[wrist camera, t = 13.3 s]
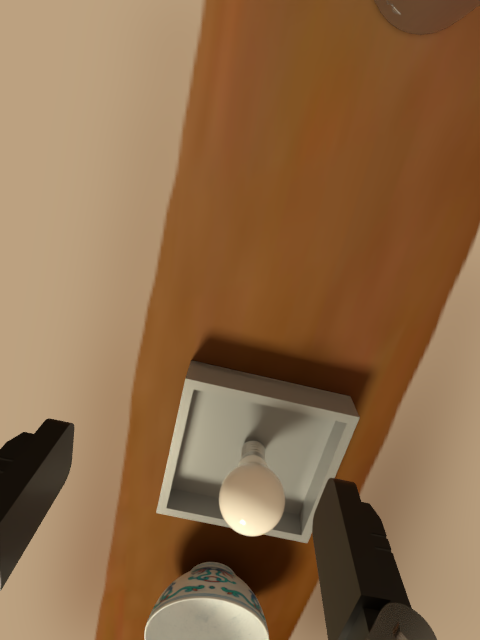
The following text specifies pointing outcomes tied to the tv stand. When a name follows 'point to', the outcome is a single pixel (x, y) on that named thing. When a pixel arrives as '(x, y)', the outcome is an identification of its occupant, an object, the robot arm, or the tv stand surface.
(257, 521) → the lightbulb
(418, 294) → the tv stand surface
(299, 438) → the tray
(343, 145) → the tv stand surface
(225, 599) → the chinaware
